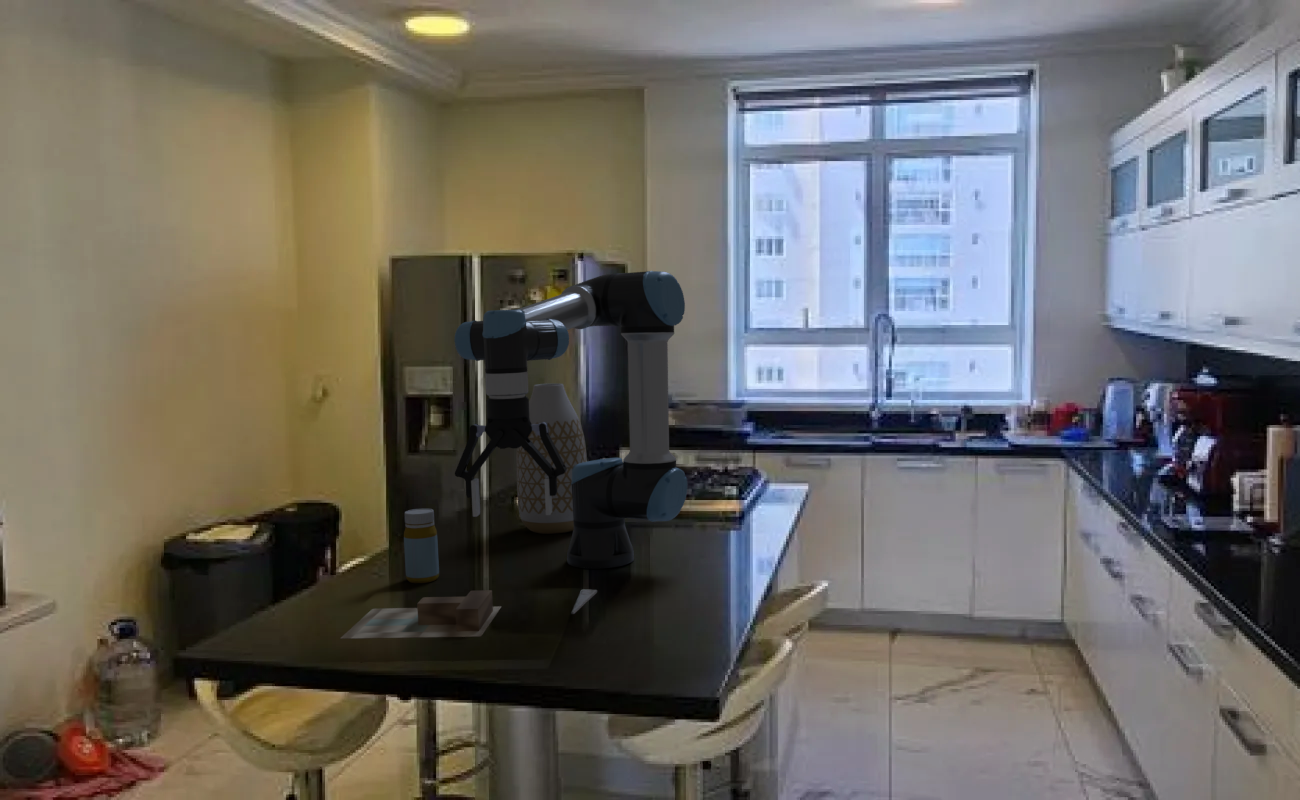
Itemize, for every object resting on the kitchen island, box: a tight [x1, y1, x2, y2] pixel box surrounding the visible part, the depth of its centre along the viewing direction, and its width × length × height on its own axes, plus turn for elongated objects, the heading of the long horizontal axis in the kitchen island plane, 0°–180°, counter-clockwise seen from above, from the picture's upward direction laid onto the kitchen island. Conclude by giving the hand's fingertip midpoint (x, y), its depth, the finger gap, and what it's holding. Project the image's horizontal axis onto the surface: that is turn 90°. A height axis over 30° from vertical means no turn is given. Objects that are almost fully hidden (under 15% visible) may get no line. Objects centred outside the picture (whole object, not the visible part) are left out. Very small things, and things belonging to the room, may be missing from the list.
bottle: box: [403, 508, 440, 584], centre depth 225 cm, size 7×7×15 cm
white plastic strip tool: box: [570, 588, 598, 615], centre depth 205 cm, size 5×15×1 cm, turn 165°
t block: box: [416, 589, 494, 631], centre depth 190 cm, size 12×12×4 cm
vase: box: [516, 383, 588, 535], centre depth 272 cm, size 19×19×38 cm
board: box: [340, 605, 502, 640], centre depth 191 cm, size 25×18×1 cm
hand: (512, 514), depth 188 cm, fingers open, 12 cm apart
